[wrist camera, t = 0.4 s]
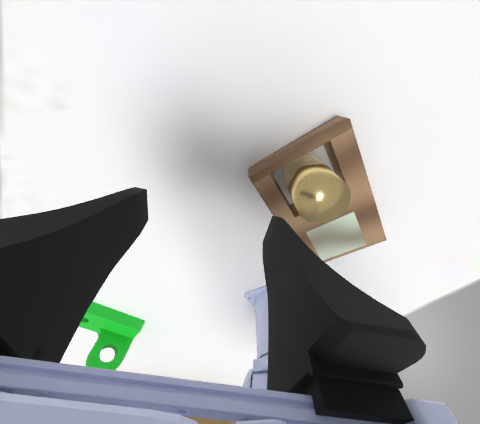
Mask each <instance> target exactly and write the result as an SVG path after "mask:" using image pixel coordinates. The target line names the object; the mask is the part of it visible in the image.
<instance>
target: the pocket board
mask: <svg viewBox="0 0 480 424" xmlns="http://www.w3.org/2000/svg"><path fill="white" fill-rule="evenodd" d="M323 144H324V146H325V148H326V151H327V153H328V156H329V158H330V161H331V163H332V166H333V169H334V171H335V174H336V175H337V176H339V177H340V178H341V179H342V180H343V181H344V182H345V183H346V184H347V185H348V186H349V188H350V191H351V200H350V203H349V205H348V207H347V209H346V210H345V211H344V212H343V213H342V214H341V215H340V216H339V217H337V218H336V219H334V220H332V221H329V222H325V223H311V222H308V221H306V220H304V219H303V218H302V217H301V216H300V215H299V213H298V211H297V209H296V206H295V204H292V205H290V204H289V203H288V201H287V199H286V197H285V196H284V194H283V192H282V190H281V189H280V187H279V185H278V183H277V182H276V180H275V178H274V176H273V175H272V173H273V172H275V171H277V170H278V169H280V168H282V167H284V166H285V165H287V164H289V163H291V162H293V161H294V160H296V159H298V158H300V157H302V156H303V155H305V154H307V153H309V152H310V151H312V150H314V149H316V148H318V147H319V146H321V145H323ZM249 178H250V180H251V182H252V183H253V185H254V186H255V188H256V189H257V191H258V193H259V194H260V196H261V197H262V199H263V200H264V202H265V203H266V205H267V207H268V208H269V210H270V211H271V213H272V214H273V216H277V217H282V218H283V219H284V220H285V221H286V222H287V223H288V224H289V225H290V226H291V228H292V229H293V230H294V231H295V232H296V234H297V235H298V236H299V237H300V238H301V239H302V240H303V242H304V243H305V244H306V245H307V246H308V247H309V248H310V249H311V250H312V251H313V252H314V253H315V254H316V255H317V256H318V257H319V258H320V259H321V260H322V261H324V262H327V261H330V260H332V259H335V258H338V257H341V256H343V255H346V254H349V253H352V252H355V251H357V250H360V249H363V248H366V247H368V246H371V245H374V244H377V243H380V242H382V241H385V240H386V237H385V234H384V230H383V227H382V224H381V220H380V217H379V214H378V210H377V207H376V204H375V200H374V197H373V194H372V191H371V187H370V184H369V181H368V177H367V174H366V171H365V167H364V164H363V161H362V157H361V154H360V151H359V148H358V144H357V141H356V138H355V134H354V131H353V128H352V124H351V121H350V119H348V118H344V117H340V116H335V117H334V118H332V119H330V120H329V121H327V122H325V123H324V124H322V125H320V126H319V127H317V128H315V129H314V130H312V131H310V132H309V133H307V134H305V135H303V136H302V137H300V138H298V139H297V140H295V141H293V142H292V143H290V144H288V145H287V146H285V147H283V148H282V149H280V150H278V151H277V152H275V153H273V154H272V155H270V156H268V157H267V158H265V159H263V160H261V161H260V162H258V163H256V164H255V165H253V166H251V167H250V168H249Z"/></svg>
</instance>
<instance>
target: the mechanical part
mask: <svg viewBox="0 0 480 424" xmlns="http://www.w3.org/2000/svg"><path fill="white" fill-rule="evenodd" d="M143 324H144V320H141V319H139V318H136V317H133V316H130V315H128V314H125V313H122V312H119V311H117V310H114V309H111V308H108V307H105V306H103V305H100V304H97V303H94V302H92V303H91V305H90V306H89V308H88V310H87V312H86V314H85V315H84V317H83V319H82V321H81V323H80V324H79V326H80V327H83V328H86V329H89V330H92V331H95V332H97V333H98V336H99V337H98V340H97V342H96V343H95V345H94V347H93V348H92V350H91V352H90V353H89V355H88V357H87V360H86V367H93V368H101V369H108V370H115V369H116V368H117V367H118V366H119V365H120V364H121V363H122V361H123V359H124V357H125V355H126V353H127V351H128V349H129V347H130V344H131V342H132V340H133V338H134V337H135V336H136V335H137V334H138V333H139V332H140V330H141V328H142V326H143ZM107 347H111V348H113V349H114V351H115V357H114V359H113V360H112V361H110V362H102V361H101V360H100V357H99V354H100V351H101V350H102V349H104V348H107Z"/></svg>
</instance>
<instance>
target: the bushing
mask: <svg viewBox="0 0 480 424" xmlns="http://www.w3.org/2000/svg"><path fill="white" fill-rule="evenodd" d="M284 180H285V183H286V185H287V187H288V190H289V192H290V195H291V197H292V199H293V202H294V204H295V206H296V209H297V211H298V213H299V215H300V216H301V217H302V218H303V219H304V220H306V221H308V222H311V223H325V222H329V221H332V220H334V219H336V218H337V217H339V216H340V215H341V214H342V213H343V212H344V211H345V210H346V209H347V207H348V205H349V203H350V200H351V191H350V188H349V186H348V185H347V184H346V183H345V182H344V181H343V180H342V179H341V178H340V177H339V176H337V175H336V174H335V173H334V172H333V171H332V170H331V169H330V168H329V167H328V166H327V165H325V164H324V163H323V162H322V161H321V160H320V159H319V158H318V157H316V156H314V155H310V154H305V155H303V156H302V157H300V158H298V159H296V160H294V161H293V162H291V163H289V164H288V165H287V166H286V168H285V171H284Z"/></svg>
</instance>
